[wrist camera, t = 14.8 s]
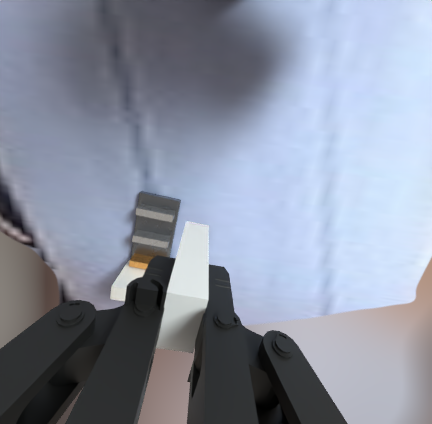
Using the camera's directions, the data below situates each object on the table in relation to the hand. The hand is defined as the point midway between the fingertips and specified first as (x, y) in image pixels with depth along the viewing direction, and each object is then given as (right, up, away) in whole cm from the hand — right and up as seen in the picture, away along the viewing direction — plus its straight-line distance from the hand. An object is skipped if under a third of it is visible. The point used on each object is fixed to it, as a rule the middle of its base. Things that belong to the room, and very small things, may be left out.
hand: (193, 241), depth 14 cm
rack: (-11, -4, +26) cm, 28 cm away
